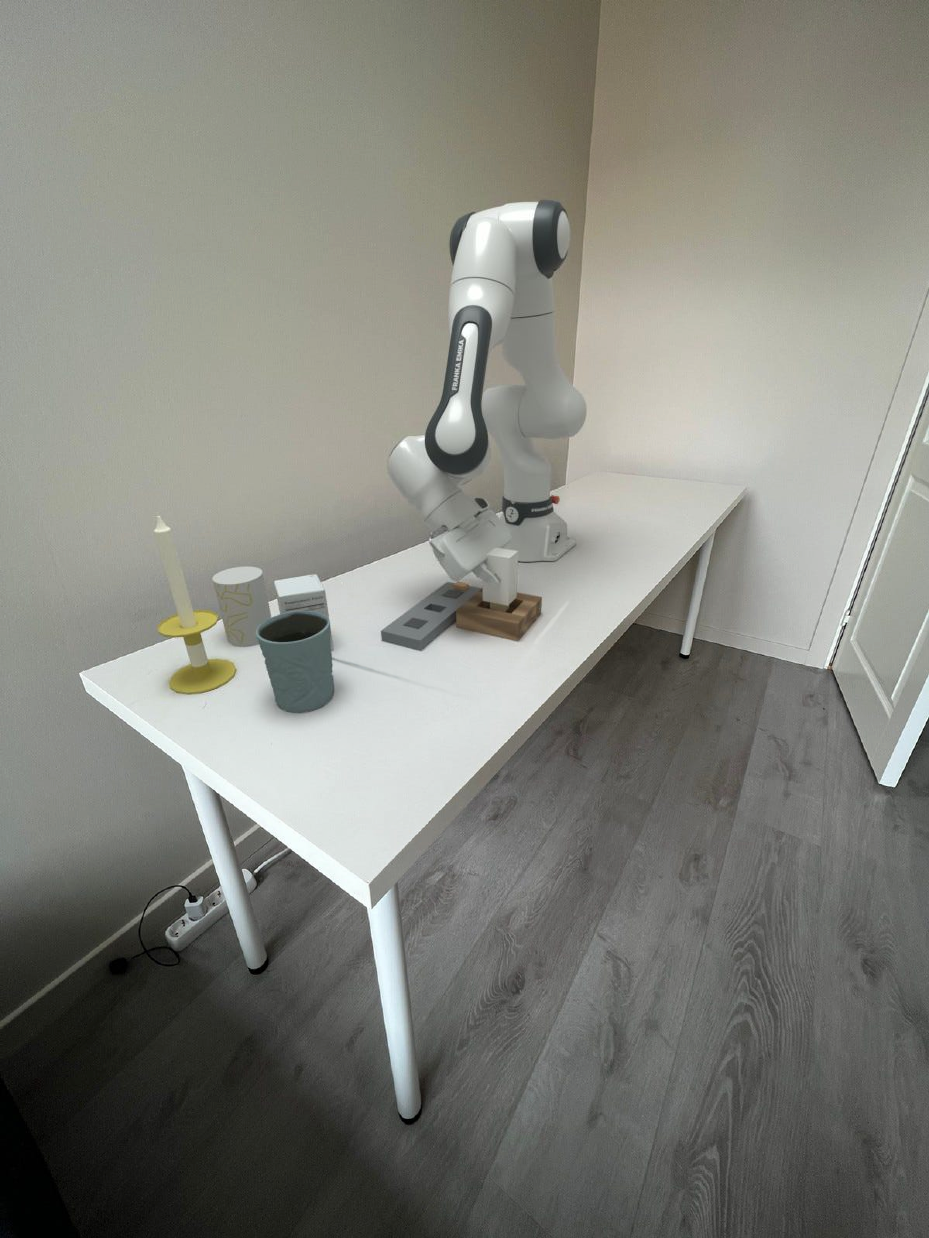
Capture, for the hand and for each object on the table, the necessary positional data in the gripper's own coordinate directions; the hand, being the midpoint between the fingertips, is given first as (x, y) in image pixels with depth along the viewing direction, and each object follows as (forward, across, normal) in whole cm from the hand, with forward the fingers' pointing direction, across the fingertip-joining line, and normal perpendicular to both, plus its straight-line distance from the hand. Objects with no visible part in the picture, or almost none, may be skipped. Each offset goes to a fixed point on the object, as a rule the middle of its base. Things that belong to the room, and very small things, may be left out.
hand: (503, 579), depth 96 cm
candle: (-19, -37, +33) cm, 53 cm away
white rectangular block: (+4, 0, +5) cm, 6 cm away
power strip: (-2, -4, +15) cm, 16 cm away
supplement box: (-12, -23, +26) cm, 36 cm away
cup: (-21, -23, +35) cm, 47 cm away
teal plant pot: (-6, -33, +20) cm, 39 cm away
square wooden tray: (+6, 0, +7) cm, 9 cm away
